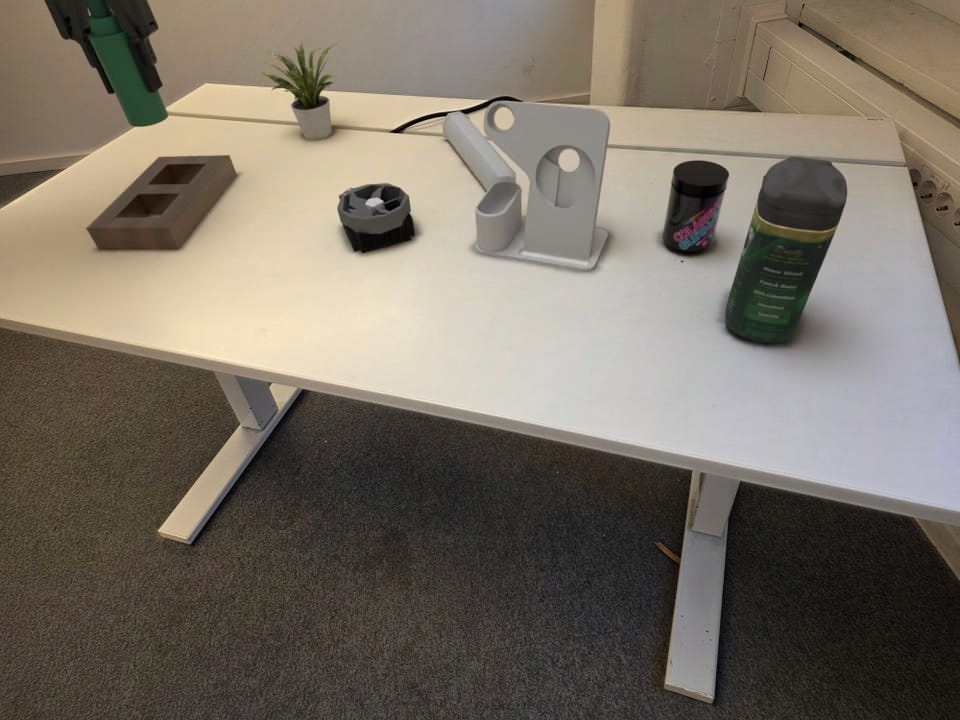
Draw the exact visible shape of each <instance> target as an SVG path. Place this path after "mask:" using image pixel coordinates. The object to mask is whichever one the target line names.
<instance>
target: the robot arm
mask: <svg viewBox="0 0 960 720" xmlns="http://www.w3.org/2000/svg"><path fill="white" fill-rule="evenodd" d="M43 1H44V3H45V5H46V7H47V9H48V12H49V13H50V16H51V18H52V20H53V22H54V24H55V26H56V29H57V31H58V33H59V35H60V37H61V38H62V39H63V40H65V41H68V40H71V41H74V42H76V43H77V44H78V45H80V48H81V49H82V51H83V53H84V54H83V55H84V56H85V58H86V60H87V62H88V64H89V65H90V67H91V68H92V69H96V72H97V74H98V75H99V77H100V80H101V82H102V83H103V86H104V88H105V90H106V92H107V94H108V95H114V94H115V92H114V90H113V88H112V86H111V84H110V82H109V80H108V78H107V76H106V73H105V71H104V69H103V67H102V65H101V63H100V61H99V59H98V57H97V54H96V52H95V50H94V48H93V46H92V44H91V42H90V40H89V38H88V34H89V33H91V32H93V31H92V29H91V27H90V25H89V23H88V21H87V17H88V16H90V12H89V9H88V7H87V5H86V3H85V1H84V0H43ZM105 1H106V2H107V4H108V5H109V7H110V8H111V10H112V11H113V13H114V14H115V15H116V17H117V18H118V20H119V21H120V23H121V24H122V26H123V27H124V29H125V30H126V31H127V33H128V34H129V36H130V37H131V40H129V42H130V43H128V45H129V48H130V50H131V52H132V54H133V57H134V59H135V61H136V64H137V66H138V68H139V70H140V73H141V75H142V77H143V80H144V82H145V84H146V87H147V89H148V91H149V93H154V92H156V91H157V90H158V91H159V89H161V88H162V87H163V86H164V84H163V82H162V79H161V77H160V75H159V72H158V70H157V68H156V64H157V63H158V58H157V55H156V53H155V51H154V49H153V46H152V43H151V41H150V36H151V35H153V34H154V33H156V32H157V31H158V30H159V25H158V23H157V20H156V17H155V15H154V13H153V11H152V9H151V6H150V4H149V2H148V0H105Z"/></svg>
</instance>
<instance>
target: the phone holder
mask: <svg viewBox="0 0 960 720" xmlns="http://www.w3.org/2000/svg"><path fill="white" fill-rule="evenodd" d="M501 108H507V109H508V110H509V111H510V112H511V114H512V116H513V122H512V124H511V126H510V127H509V128H508V129H501V128H499V127H498V126H497V124H496V120H495V116H496V114H497V111H498V110H500V109H501ZM483 116H484V117H483V131H484V134H485V135H486V136H487V138H488V139H489V140H490V141H491V142H492V143H493V144H494V145H495V146H496V147H498V149H500V151H502V152H503V153H504V154H505V155H506V156H507V157H508V158H509V159H510V160H511V161H512V163H514V164H515V165H516V166H517V167H518V168H519V169H520V170H521V171H522V172H524V173H525V174H526V176H527V177H528V181H529V186H528V193H527V195H528V196H527V207H526V213H525V214H526V216H525V217H523V214H522V213H523V212H522V211H523V210H522V188H521V185H519V184H518V183H517V182H516V183H514V182H510V181H502V182H498V183H495V184H493V185H492V186H491V187H490V188H489V190H488V191H487V190H486V192H485V194H484V195H483V196H482V198H481V199H480V200H479V202H478V203H477V204H476V206H475V207H474V216H475V228H476V229H475V230H476V244H475V245H474V246H475V251H476V252H477V253H478V254H481V255H487V256H492V257H498V258H504V259H510V260H515V261H520V262H526V263H527V262H528V263H532V264H533V263H534V264H537V265H538V264H539V265H545V266H550V267H555V268H561V269H568V270H574V271H579V272H589V271H592V270H594V269H595V268H596V266H597V264H598V262H599V259H600V256H601V254H602V252H603V249H604V247H605V245H606V243H607V240H608V237H609V233H608V232H607V230H605V229H602V228H597V227H596V226H597V220H598V219H597V218H598V211H599V205H600V198H601V192H602V184H603V178H604V172H605V165H606V159H607V151H608V145H609V138H610V131H611V121H610V118H609V116H608V115H607V113H606V112H604V111H603V110H601V109H600V108H592V107H580V106H571V105H558V104H546V103H536V102H522V101H509V100H495V101H494V102H492V103H490V104H489V105H488V107H487V108H486V110H485V111H484V115H483ZM565 150H572V151H574V152H576V153H577V156H578V158H579V163H578V166H577V167H576V169H574V170H571V171H566V170H564V169H563V168H562V167H561V166H560V162H559V161H560V160H559V159H560V156H561V154H562V153H563V152H564V151H565ZM523 252H524V253H529V254H535V255H541V256H548V257H553V258H560V259H566V260H571V261H577V262H583V263H588V265H584V264H578V263H572V262H566V261H560V260H554V259H549V258H543V257H536V256H531V255H525V254H522V253H523Z"/></svg>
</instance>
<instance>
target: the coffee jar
mask: <svg viewBox="0 0 960 720" xmlns="http://www.w3.org/2000/svg"><path fill="white" fill-rule="evenodd" d="M847 185H848V184H847V180H846V178H845V176H844V175H843V173H842V172H841V171H840V170H839V169H838V168H837V167H835V165H833V163H832V162H831V161H830V160H823V159H817V158H809V157H803V156H802V157H800V156H788V157H787V158H786V159H783V160H781V161H779V162H777V163H774V164H773V165H771V167H769V168H768V170H767V171H766V173H765V174H764V175H763V177H762V182H761V186H760V190H759V192H758V195H757V199H756V203H755V206H754V210H753V213H752V216H751V220H750V223H749V227H748V230H747V234H746V237H745V240H744V244H743V247H742V251H741V254H740V258H739V261H738V265H737V269H736V272H735V275H734V278H733V282H732V285H731V288H730V292H729V295H728V299H727V302H726V306H725V311H724V316H725V317H724V320H725V321H724V322H725V324H726V327H727V328H728V329H729V331H731V332H732V333H734V334H735V335H738V336H740V337H743V338H744V339H747V340H750V341H753V342H758V343H767V344H769V343H770V344H771V343H772V344H775V343H776V344H777V343H783V342H786V341H788V340H790V339H791V338H792V337H793V336H794V334H795V331H796V329H797V327H798V325H799V322H800V320H801V318H802V314H803V312H804V310H805V307H806V304H807V302H808V300H809V297H810V295H811V293H812V290H813V287H814V286H815V283H816V281H817V278H818V275H819V274H820V271H821V269H822V266H823V263H824V261H825V259H826V256H827V254H828V251H829V249H830V247H831V244H832V241H833V239H834V237H835V233H836V231H837V229H838V226H839V224H840V221H841V219H842V216H843V212H844V209H845V207H846V205H847V204H846V203H847V199H848V186H847Z"/></svg>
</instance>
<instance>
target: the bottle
mask: <svg viewBox="0 0 960 720" xmlns="http://www.w3.org/2000/svg"><path fill="white" fill-rule="evenodd" d="M84 1H85V3H86V5H87V7H88V12H89V16H88V17H87V21H88V23H89V25H90V27H91V29H92V31H93V32H91V33H89V34H88V38H89V40H90V42H91V44H92V46H93V48H94V50H95V52H96V54H97V57H98V59H99V61H100V63H101V65H102V67H103V69H104V71H105V73H106V76H107V78H108V80H109V82H110V84H111V86H112V88H113V90H114V92H115V93H114V94H115V96H116V99H117V101H118V103H119V105H120V107H121V110H122V112H123V114H124V115H125V117H126V119H127V122H128V124H129V126H131V127H134V128H143V127H150V126H154V125H157V124H159V123H162V122H164V121H166V120H167V119H168V118H169V113H168V110H167V107H166V105H165V102H164V100H163V99H162V96H161V94H160V91H159V89H158V90H157V91H156V92H154V93H149V91H148V89H147V87H146V84H145V82H144V80H143V77H142V75H141V73H140V70H139V68H138V66H137V64H136V61H135V59H134V57H133V54H132V52H131V50H130V48H129V45H128V43H130V42H129V40H131V37H130V36H129V34H128V33H127V31H126V30H125V29H124V27H123V26H122V24H121V23H120V21H119V20H118V18H117V17H116V15H115V14H114V13H113V11H112V10H111V8H110V7H109V5H108V4H107V2H106V1H105V0H84Z"/></svg>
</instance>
